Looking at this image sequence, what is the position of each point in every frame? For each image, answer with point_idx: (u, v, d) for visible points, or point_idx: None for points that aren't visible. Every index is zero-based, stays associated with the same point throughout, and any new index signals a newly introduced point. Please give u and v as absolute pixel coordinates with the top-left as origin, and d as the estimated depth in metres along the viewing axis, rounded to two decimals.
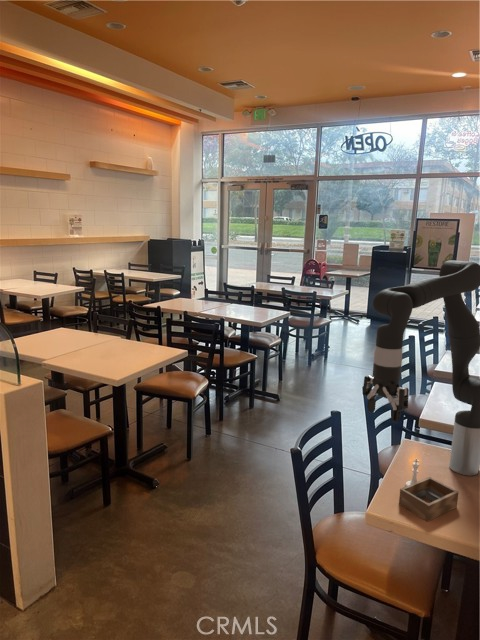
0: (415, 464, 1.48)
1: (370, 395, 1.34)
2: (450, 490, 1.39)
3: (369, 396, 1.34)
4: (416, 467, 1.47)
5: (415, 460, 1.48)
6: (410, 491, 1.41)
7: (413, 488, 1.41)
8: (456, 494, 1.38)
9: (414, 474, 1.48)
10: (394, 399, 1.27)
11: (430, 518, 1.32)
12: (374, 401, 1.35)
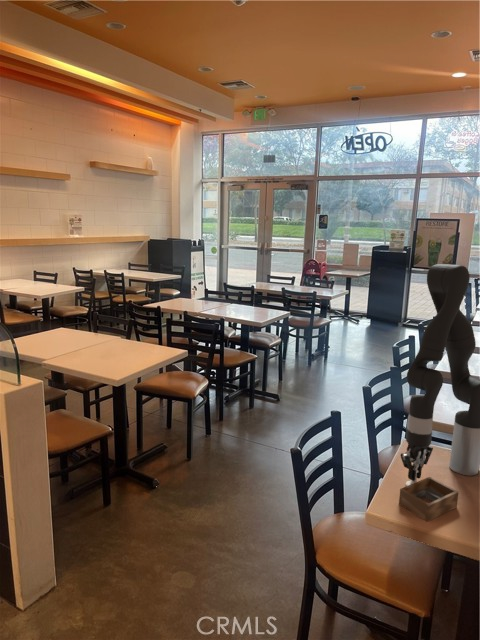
0: None
1: (416, 466, 1.46)
2: (450, 490, 1.39)
3: (415, 467, 1.46)
4: (416, 467, 1.47)
5: None
6: (410, 491, 1.41)
7: (413, 488, 1.41)
8: (456, 494, 1.38)
9: None
10: None
11: (430, 518, 1.32)
12: None
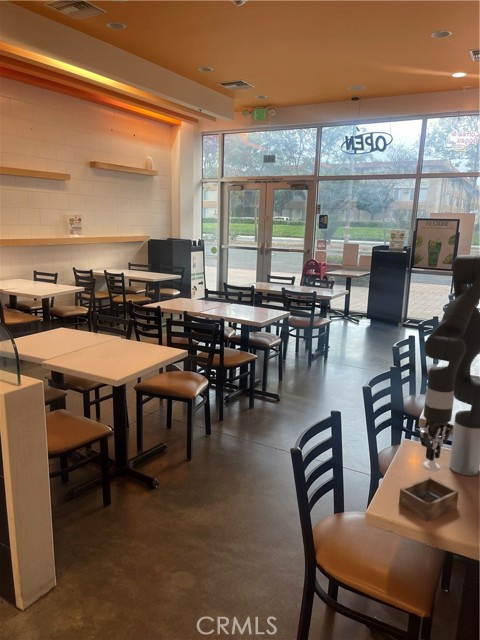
0: None
1: (435, 444, 1.34)
2: (450, 490, 1.39)
3: (434, 446, 1.34)
4: (435, 446, 1.35)
5: None
6: (410, 491, 1.41)
7: (413, 488, 1.41)
8: (456, 494, 1.38)
9: None
10: None
11: (430, 518, 1.32)
12: None
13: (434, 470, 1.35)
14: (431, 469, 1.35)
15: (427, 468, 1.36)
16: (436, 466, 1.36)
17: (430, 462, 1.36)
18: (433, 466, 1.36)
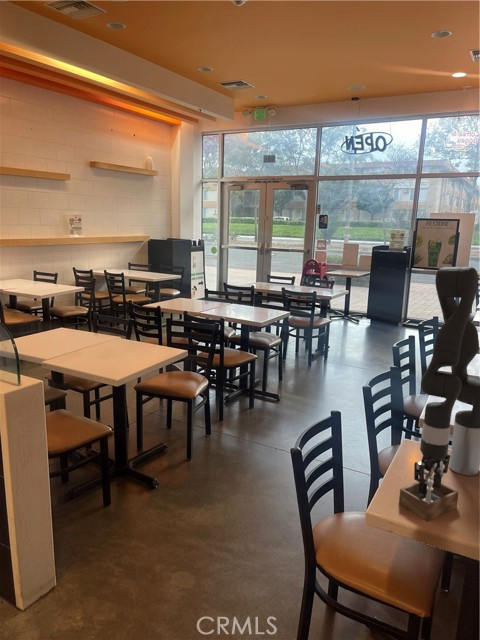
0: (430, 481, 1.38)
1: (427, 478, 1.35)
2: (450, 490, 1.39)
3: (427, 480, 1.35)
4: (431, 484, 1.38)
5: (430, 477, 1.38)
6: (410, 491, 1.41)
7: (413, 488, 1.41)
8: (456, 494, 1.38)
9: (428, 492, 1.38)
10: None
11: (430, 518, 1.32)
12: None
13: None
14: None
15: None
16: None
17: (426, 500, 1.39)
18: None
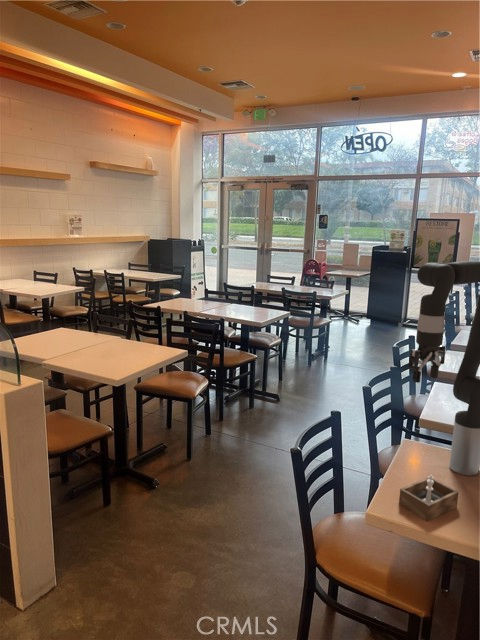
0: (430, 481, 1.38)
1: (421, 366, 1.39)
2: (450, 490, 1.39)
3: (420, 368, 1.39)
4: (431, 484, 1.38)
5: (430, 477, 1.38)
6: (410, 491, 1.41)
7: (413, 488, 1.41)
8: (456, 494, 1.38)
9: (428, 492, 1.38)
10: None
11: (430, 518, 1.32)
12: None
13: None
14: None
15: None
16: None
17: (426, 500, 1.39)
18: None
